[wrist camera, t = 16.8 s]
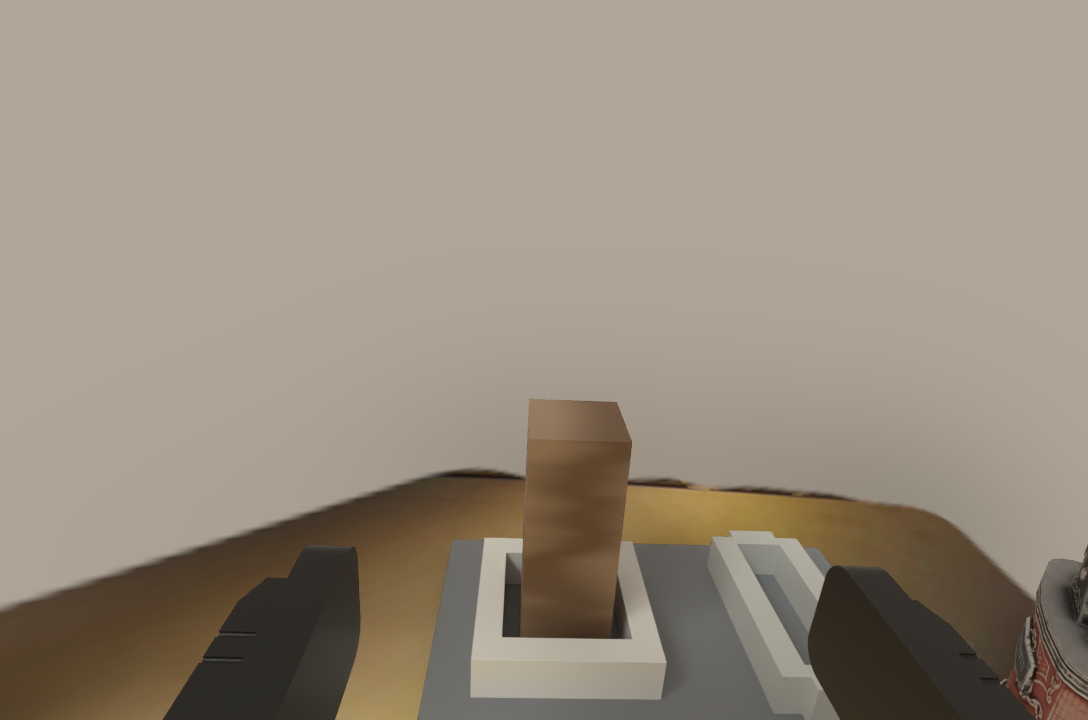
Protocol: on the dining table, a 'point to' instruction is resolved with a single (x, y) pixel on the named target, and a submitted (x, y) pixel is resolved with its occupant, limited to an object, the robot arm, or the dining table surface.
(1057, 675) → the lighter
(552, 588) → the tall brown wooden block
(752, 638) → the holder board
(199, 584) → the dining table surface
